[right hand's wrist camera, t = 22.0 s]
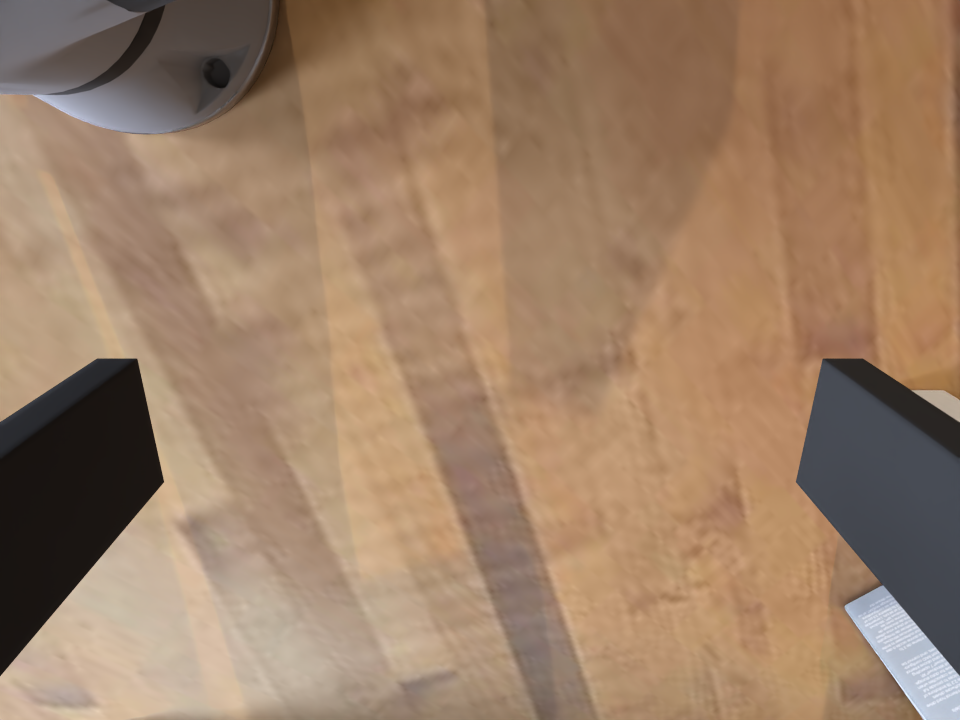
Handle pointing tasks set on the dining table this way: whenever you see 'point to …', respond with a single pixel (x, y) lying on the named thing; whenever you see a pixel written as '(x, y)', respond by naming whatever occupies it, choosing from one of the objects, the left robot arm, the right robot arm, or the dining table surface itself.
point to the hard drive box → (908, 655)
